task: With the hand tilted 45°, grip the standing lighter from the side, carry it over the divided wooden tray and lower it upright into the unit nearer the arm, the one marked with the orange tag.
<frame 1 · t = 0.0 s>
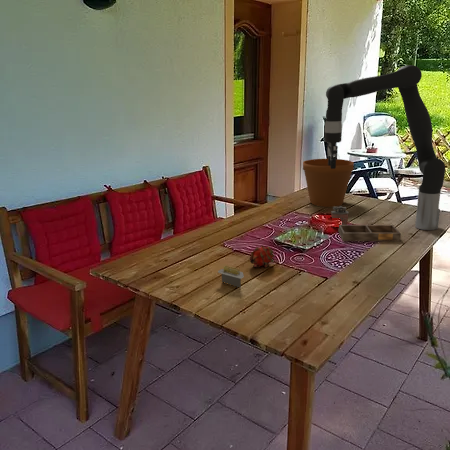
hand: (331, 166, 209), 29 cm above the table, tool pointing down, fingers open, 8 cm apart
lighter: (339, 227, 218), on the table
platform: (232, 286, 158), on the table
flowerpot: (326, 203, 263), on the table
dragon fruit: (261, 266, 173), on the table
divided wooden tray: (368, 236, 203), on the table
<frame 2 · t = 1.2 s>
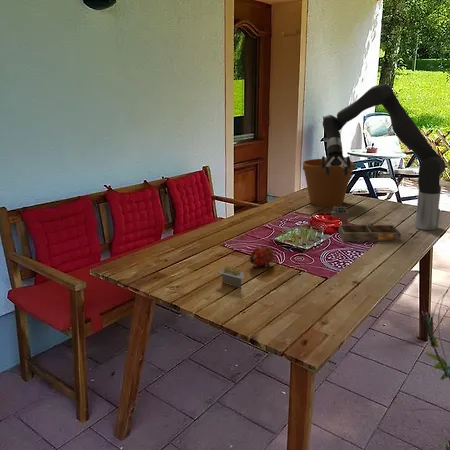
hand: (336, 174, 225), 23 cm above the table, tool tilted 45°, fingers open, 8 cm apart
nothing on the table moved.
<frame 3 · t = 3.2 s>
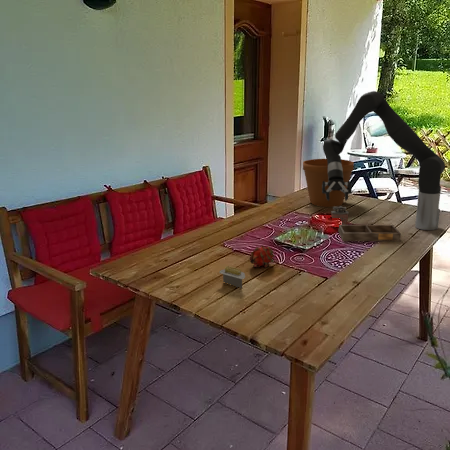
hand: (337, 199, 224), 11 cm above the table, tool tilted 45°, fingers open, 8 cm apart
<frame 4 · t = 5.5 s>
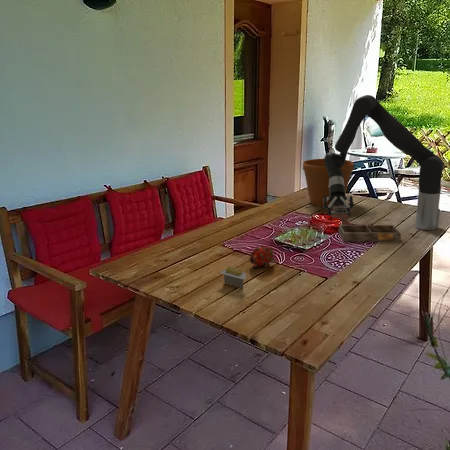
hand: (339, 215, 218), 5 cm above the table, tool tilted 45°, fingers closed on lighter, 8 cm apart
lighter: (339, 227, 218), on the table, touching gripper
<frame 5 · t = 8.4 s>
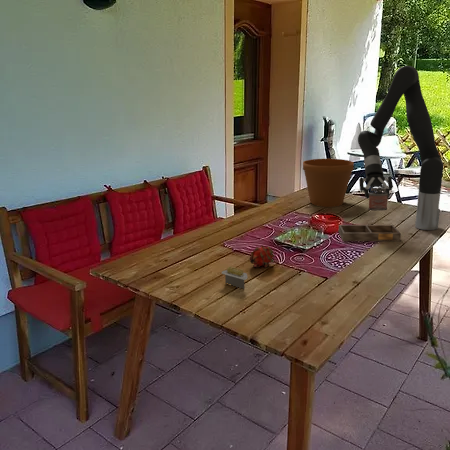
hand: (377, 197, 201), 17 cm above the table, tool tilted 45°, fingers closed on lighter, 8 cm apart
lighter: (377, 210, 202), point 12 cm above the table, touching gripper
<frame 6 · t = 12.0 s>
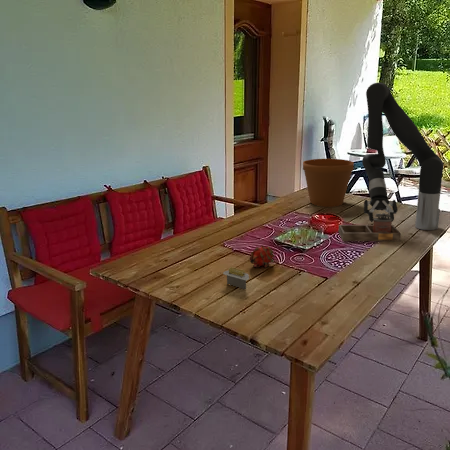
hand: (382, 221, 202), 7 cm above the table, tool tilted 45°, fingers closed on lighter, 8 cm apart
lighter: (381, 235, 203), point 1 cm above the table, touching gripper, divided wooden tray
when the fingers open (7 cm above the table, at t = 12.1 s): lighter stays where it is, resting on divided wooden tray.
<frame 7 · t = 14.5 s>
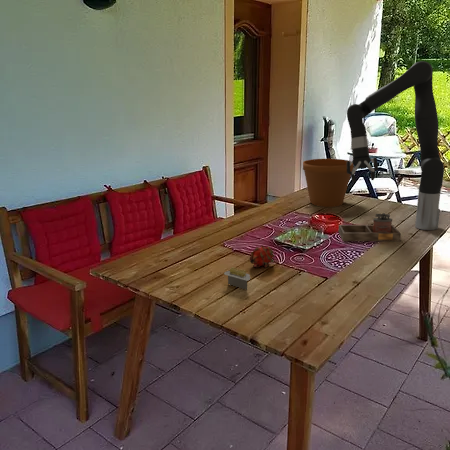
hand: (363, 181, 215), 21 cm above the table, tool pointing down, fingers open, 8 cm apart
lighter: (381, 235, 203), point 1 cm above the table, touching divided wooden tray
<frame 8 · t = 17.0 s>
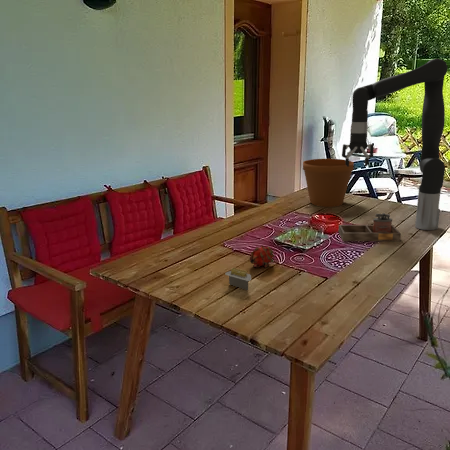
hand: (356, 166, 216), 28 cm above the table, tool pointing down, fingers open, 8 cm apart
at the end: lighter 0.2 cm from the target spot on the divided wooden tray, point 0.5 cm above the divided wooden tray's base; lighter tilted 0°; the gripper is holding nothing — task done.
